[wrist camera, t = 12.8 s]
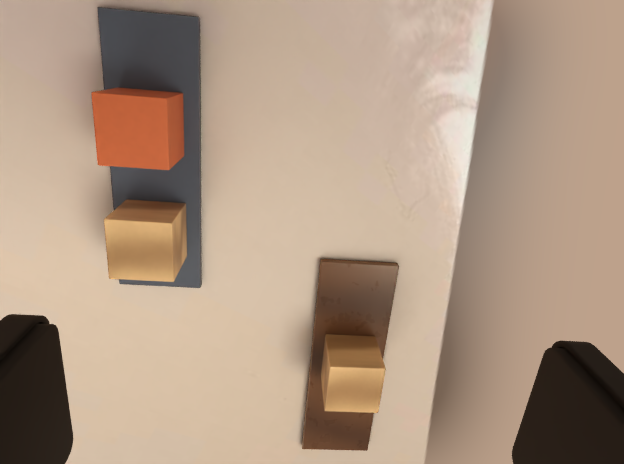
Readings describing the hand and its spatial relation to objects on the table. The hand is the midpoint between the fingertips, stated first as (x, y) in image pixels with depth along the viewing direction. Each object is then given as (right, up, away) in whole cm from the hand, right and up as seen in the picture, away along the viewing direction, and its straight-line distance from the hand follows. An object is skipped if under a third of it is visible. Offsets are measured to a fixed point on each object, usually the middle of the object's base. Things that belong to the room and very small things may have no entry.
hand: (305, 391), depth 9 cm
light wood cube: (+3, -8, +31) cm, 32 cm away
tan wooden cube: (-12, +3, +26) cm, 28 cm away
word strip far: (+3, -9, +32) cm, 33 cm away
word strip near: (-11, +8, +24) cm, 28 cm away
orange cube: (-11, +11, +23) cm, 27 cm away
